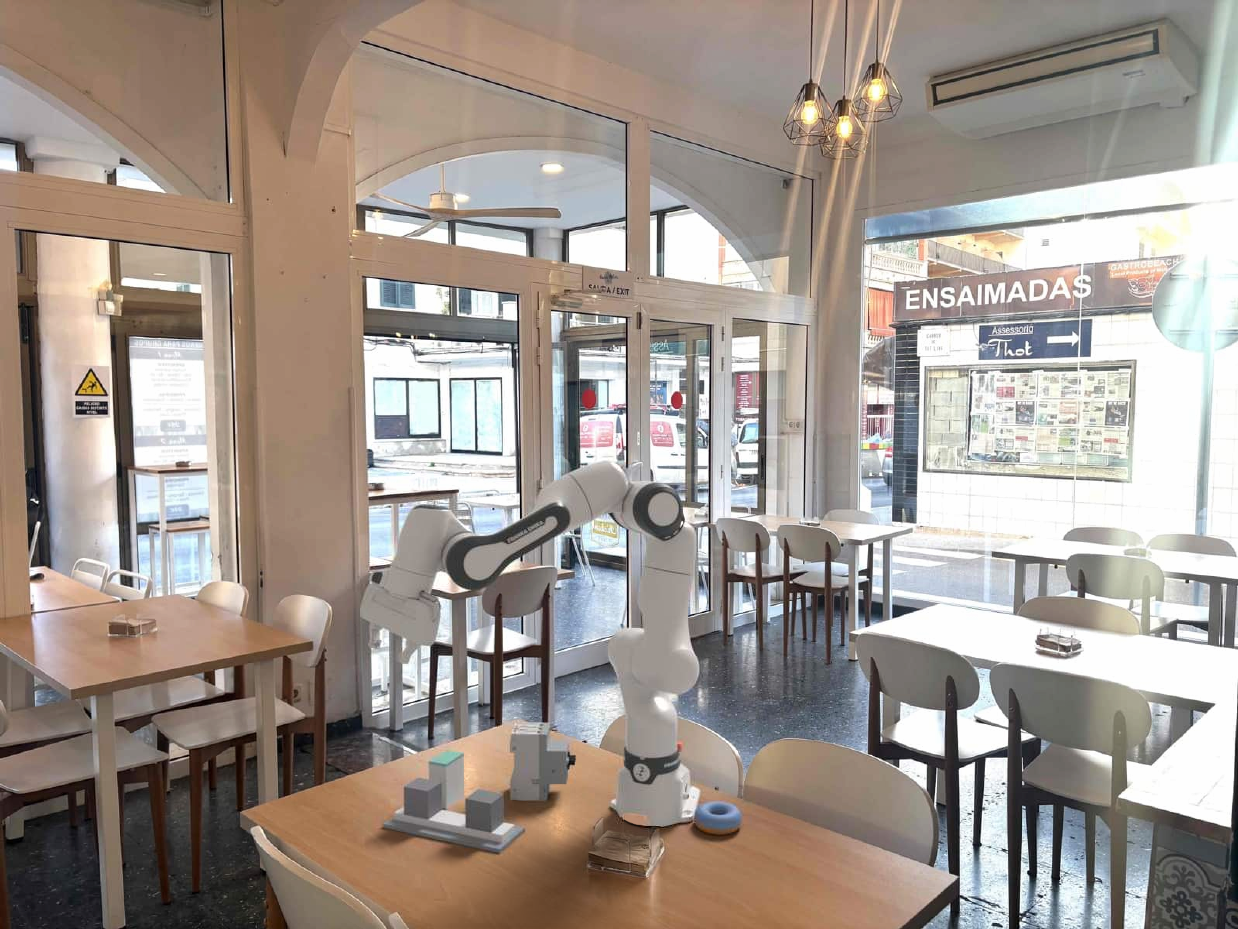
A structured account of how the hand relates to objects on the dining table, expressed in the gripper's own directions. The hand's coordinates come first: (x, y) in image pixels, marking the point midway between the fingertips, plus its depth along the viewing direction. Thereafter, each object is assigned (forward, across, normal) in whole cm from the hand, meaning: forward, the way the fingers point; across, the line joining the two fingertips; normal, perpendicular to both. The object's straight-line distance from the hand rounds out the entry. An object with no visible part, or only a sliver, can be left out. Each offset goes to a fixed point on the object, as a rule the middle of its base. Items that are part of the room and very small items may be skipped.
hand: (387, 655), depth 170 cm
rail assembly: (+34, -5, -26) cm, 43 cm away
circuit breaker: (+27, -7, -50) cm, 57 cm away
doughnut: (+19, -45, -60) cm, 78 cm away
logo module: (+33, +7, -34) cm, 48 cm away
